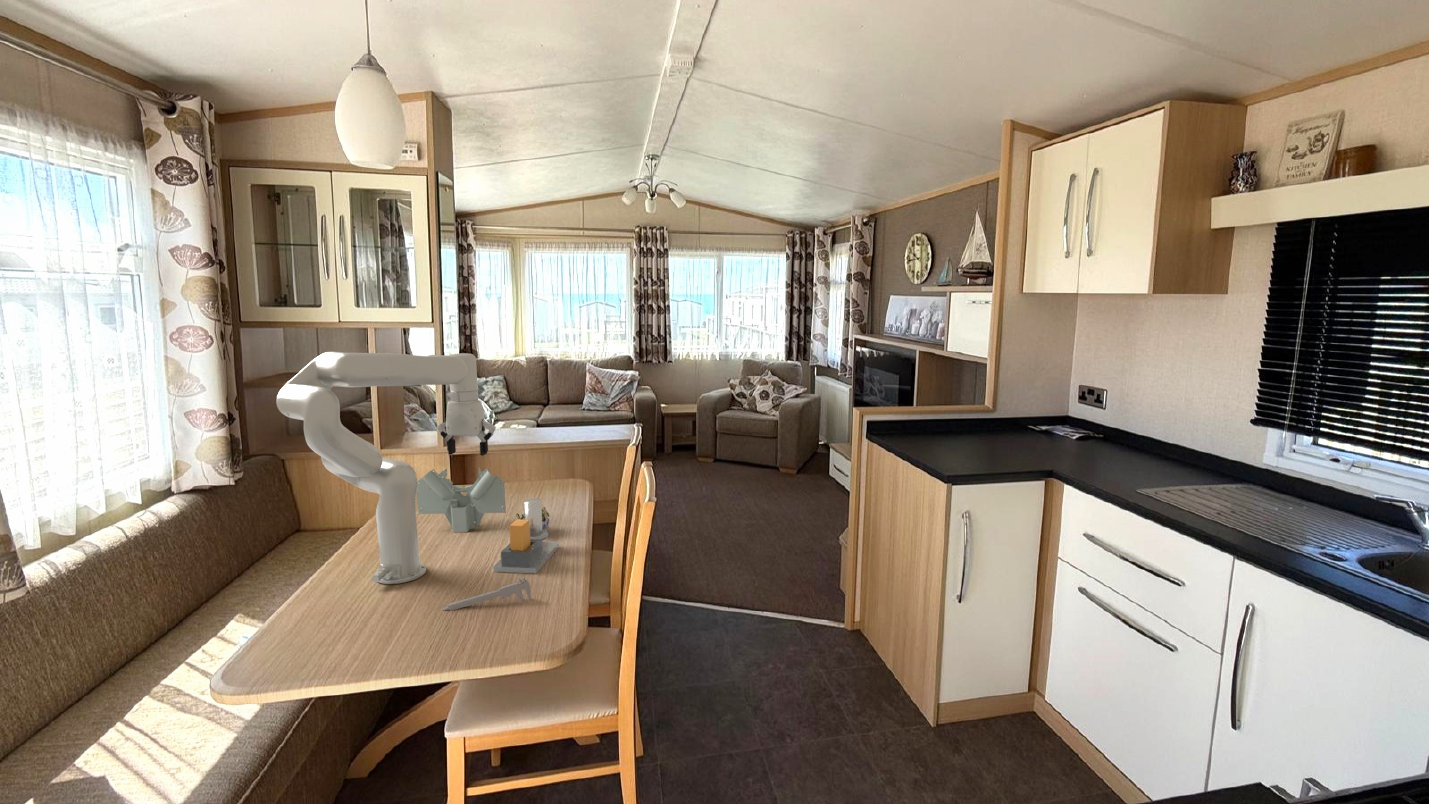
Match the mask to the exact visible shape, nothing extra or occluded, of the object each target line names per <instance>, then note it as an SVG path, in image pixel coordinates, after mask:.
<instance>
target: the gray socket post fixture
mask: <svg viewBox="0 0 1429 804" xmlns="http://www.w3.org/2000/svg"><path fill="white" fill-rule="evenodd" d="M523 505H524V506H523V507H524V514H525V520H529V525H530V547H529V548H528V549H527V550H526V551H521V550H511V544H510V543H509V544H508V545H506V546H505V548H503V549H502V550H501V551H500V560H499V561H497V562H496V564H494V565H493V573H511V574H512V573H513V574H536V575H537V573H539V571H540V570H541V569H542V568H543V567H544V566H545V564H546V563H548V561H549V560H550V558H552V556H553V555H554V554H555V553H556V552H557V550H559V549H560V542H559V541H558V542H557V541H556V542H555V541H554V542H553V541H544V540H547V539H548V538H549V531H548V530H547V529H546V530H547V531H546V530H543V529H542V508H543V507H542V499H540V498H537V497H535V498H534V497H533V498H532V497H531V498H527V499H525V500H524V501H523ZM554 552H555V553H554ZM547 560H548V561H547Z"/></svg>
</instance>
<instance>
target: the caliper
mask: <svg viewBox="0 0 1429 804" xmlns="http://www.w3.org/2000/svg"><path fill="white" fill-rule="evenodd" d="M522 590H525V592H526V595H527V599H528V600H531V599H532V593H531V590H532V589H531V585H530V583H529V580H528V579H526V577H525V576H523V577H522V578H520V577H518V581H516V582H514V583H510V584H508V585H503V586H500V587H499V589H496V590H492V591H489V592H485V593H481V594H479V595H478V594H477V595H475V596H472V597H468V598H464V599H461V600H458V601H455V602H451V603H448V605H447V606H445V607H443V608H442V611H443V612H444V611H453V610H458V609H461V608H465V607H469V606H472V605H475V604H479V603H482V602H485V601H488V600H489V601H490V600H493V599H497V598H499V597H501V599H503V600H504V599H505V598H509V597H511V596H513V594H516V596H517V598H518V599H519V600H520V601H521V602H523V601H524V600H525V599H524V595H523V593H522Z"/></svg>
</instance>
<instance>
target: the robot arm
mask: <svg viewBox="0 0 1429 804" xmlns="http://www.w3.org/2000/svg"><path fill="white" fill-rule="evenodd" d="M477 366H478V365H477V357H476V356H475V354H472V353H467V352H466V353H465V352H463V353H453V354H450V355H449V354H448V355H439V354H431V355H427V356H426V355H414V354H408V353H407V354H406V353H398V352H397V353H396V352H343V351H342V352H341V351H326V352H323V353H321V354H320V355H318V356H317V357H315V358H313V359H312V360H311V361H310V362H309V363H308V364H307V365H306V366H304V367H303V368H302V369H301V370H300V371H299V372H298V373H297V374H296V375H294V376H293V377H292V378H291V379H290V380H288V381H287V382H286V383H285V384H284V385H283V386H282V387H281V389H280V390H279V391H278V394H277V395H276V402H275V403H276V407H277V409H278V411H279V412H280V413H281V414H282V415H284V416H285V417H287V418H290V419H294V420H300V421H303V435H304V438H305V443H306V445H307V446H308V447H309V449H311V450H312V451H313V452H314V453H315V454H317V455H318V456H319V457H320V460H321V463H322V465H323V466H324V468H325V469H326V470H327V471H328V472H330V473H332V474H333V475H335V476H337V477H339V479H342V480H344V481H345V482H347V483H349V484H351V485H353V486H355V487H357V488H359V489H361V490H364V491H366V492H369V493H370V492H371V493H373V494H378V495H379V497H378V501H377V505H376V510H375V521H376V528H377V529H376V532H377V542H378V554H379V564H380V565H378V568H379V569H378V570H377V571H376V572H375V573H374V574H373V575H372V576H371V581H372V582H373V583H379V584H382V585H383V584H384V585H398V584H404V583H407V582H410V581H411V582H412V581H414V580H416V579H419V578H421V577H423V576H424V574H426V572H427V566H426V564H424V563H423V562H421V561H420V551H419V538H418V526H417V524H418V523H417V514H416V512H417V511H416V495H417V488H416V487H417V481H418V476H417V471H415V468H414V467H413V466H411V465H410V464H409V463H407V462H405V461H402V460H398V459H393V458H389V457H383V455H382V453H381V452H380V450H379V448H377V446H376V445H374V444H372V443H371V442H369V441H367V440H365V439H364V438H362V437H360V436H359V435H357V434H355V433H353V432H352V431H350V430H349V429H348V428H347V427H346V426H344V425H343V424H342V421H341V417H340V416H341V412H340V411H341V408H340V407H341V405H340V401H339V398H338V396H337V395H336V393H334V392H333V390H332V389H333V388H334V386H335V387H342V388H370V387H407V386H408V387H409V386H432V385H433V386H434V385H435V386H436V385H437V386H438V385H439V386H441V385H442V386H443V385H444V386H445V385H449V391H447V392H446V394H445V396H446V398H447V397H448V398H450V401H447V405H446V413H445V414H446V415H445V416H446V417H445V421H444V422H441V423H440V424H438V425H437V426H436V428H437V430H438V432H439V433H440V436H441V437H442V438H443V439H444V441H445V442H446V448H447V449H446V450H447V451H448V455H449V456H452V455H453V454H455V453H456V451H457V450H456V449H457V448H456V439H454V438H455V437H478V439H479V440H480V442H479V454H480V456H485V455H487V454H488V452H489V444H488V443H489V440H490V438H491V437H493V436H494V433H495V431H496V428H497V427H496V426H495V425H494V424H492V423H490V422H488V421H486V420H485V414H484V409H483V405H482V401H481V400H480V399H479V388H478V387H479V385H478V368H477ZM486 429H488V432H487V433H486V432H485V431H486Z"/></svg>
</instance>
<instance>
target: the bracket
mask: <svg viewBox="0 0 1429 804" xmlns="http://www.w3.org/2000/svg"><path fill="white" fill-rule="evenodd" d="M477 473H478V477H477V479H476V480H475V482H474V483H473V484H471V485H467V486H465V487H463V486H461V485H459V484H458V485H457V484H455V485H453V484H454V483H453V481H452V480H451V479H450V478H447V477H448V467H445V468H444V469H443V470H442V471H441V472H440V473H438V472H437V471H436V469H434V468H432V469H431V470H430V471H429V472H427V473H426V474H425V475H424V476H422V477H421V478H420V479H418V480H417V487H416V499H417V500H416V501H417V513H418V515H439V514H440V515H444V516H445V518H446V519H447V521H448V522H449V524H450V526H451V529H452V533H468V532H469V531H470V530H474V529H476V528H475V527H480V524H481V523H482V519H483V517H484V515H485V514H500V513H503V514H506V513H507V511H506V510H507V507H506V493H505V492H506V490H505V489H506V488H505V487H506V486H505V480H503V479H502V478H500V477H499V476H497V475H496V476H495V475H493V474H492V473H491V472H489V469H488V468H485V469H484V470H481V467H479V468H477ZM462 493H466V494H465V495H464V494H462Z"/></svg>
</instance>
